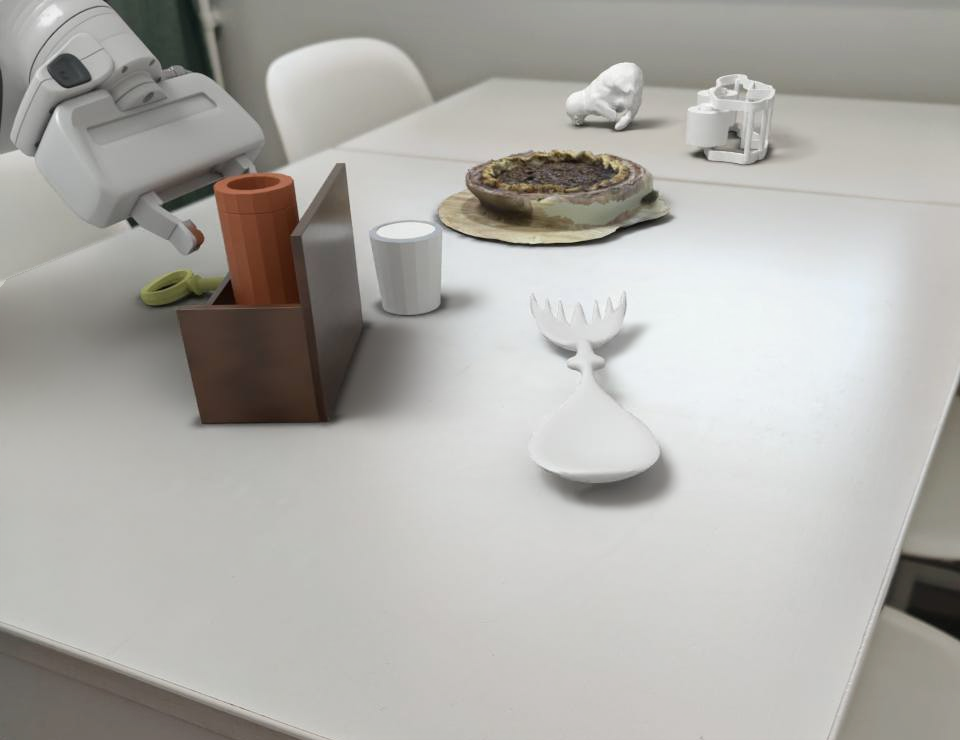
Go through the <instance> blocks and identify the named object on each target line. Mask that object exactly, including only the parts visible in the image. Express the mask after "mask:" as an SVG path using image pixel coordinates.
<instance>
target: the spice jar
mask: <svg viewBox="0 0 960 740" xmlns="http://www.w3.org/2000/svg"><path fill="white" fill-rule="evenodd" d="M212 187H213V193H214V198H215V203H216V207H217V213H218V219H219V225H220V229H221V235H222V240H223V246H224V251H225V257H226V262H227V268H228V272H230V277H231V283H232V288H233V293H234V299H235V304H236V305H252V304H300V299H299V292H298V285H297V278H296V272H295V265H294V258H293V252H292V245H291V238H290V235H291V234H292V232H293V231H294V229H295V228H296V226H297V224H298V223H299V221H300V214H299V207H298V201H297V195H296V194H297V193H296V186H295V180H294V178H292V176H290V175H287V174H284V173H279V172H257V173H250V174H242V175H237V176H233V177H229V178H223V179H221V180H218V181H216V182H215V183H214V185H213V186H212Z"/></svg>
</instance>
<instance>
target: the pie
mask: <svg viewBox="0 0 960 740" xmlns="http://www.w3.org/2000/svg"><path fill="white" fill-rule="evenodd" d="M464 177H465V178H464V179H465V180H464V184H465V187H466V189H464V190H462V191H459V192H457V193H454V194H452V195H450V196H449V197H447V198H446V199H445V200H444V201H443V202H441V204H440V206H438V218H439V219H440V221H441V222H442V223H443V224H444V225H445V226H446V227H448V228H449V227H450V228H451V229H453V230H455V231H458V232H461V233H463V234H466V235H469V236H473V237H477V238H483V239H489V240H490V239H493V240H499V241H502V242H507V243H513V244H529V245H535V244H555V243H556V244H558V243H559V244H561V243H562V244H563V243H565V244H566V243H567V244H568V243H576V242H577V243H578V242H583V241H589V240H595V239H596V240H597V239H601V238H603V237H606V236H608V235H611V234H612V233H614V232H616V230H617V229H619V228H627V227H630V226H633V225H636V224H638V223H640V222H641V223H642V222H646V221H653V220H655V219H658V218H661V217H664V216H665V215H667V214H668V213H669V212H670V211H671V207H670V206H669V205H668V204H665V201H664V200H661V199H660V196H661V195H660V192H659V190H655V189H654V175H653V174H652V172H651V171H649V170H648V169H647V168H646V167H644V166H643V165H641V164H639V163H637V162H634V161H633V160H631V159H628V158H626V157H623V156H619V155H616V154H612V153H599V154H596V155H595V154H594V153H593V152H592V151H591V150H581V151H579V152H577V153H576V152H575V151H572V150H571V149H567V150H562V151H560V150H558V149H551V150H550V151H549V152H547V151H546V150H544V151H539V150H538V151H534V150H533V149H529V150H528V151H523V152H517V153H512V154H510V155H507V156H504V157H502V158H499V159H496V160H495V159H493V158H491V159H488V160H487V161H486V162H481V163H478V164H476V165H474V166H471V168H467V172H466V173H465V176H464Z"/></svg>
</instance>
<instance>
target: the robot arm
mask: <svg viewBox="0 0 960 740" xmlns="http://www.w3.org/2000/svg"><path fill="white" fill-rule="evenodd" d="M265 144H266V138H265V135H264V132H263V129H262V128H261V125H259V124H258V122H257V121H256V120H255V119H254V118H253V117H252V116H251V115H250V114H249V112H248V111H246V110H245V108H243V106H241V105H240V104H239V102H237V101H236V100H235V99H234V97H233V96H231V94H229V93H228V92H227V91H226V90H225V89H224V88H223V87H222V86H221V85H220V84H218V83H217V82H216V81H215V80H213V79H212V78H210V77H209V76H207V75H205V74H203V73H200V72H193V71H191V70H188V69H185V67H183V66H182V65H172V66H169V67H168V68H165V69H162V64H161V62H160V61H159V59H158V58H157V57H156V56H155V55H154V54H153V52H151V50H150V49H149V48H148V47H147V46H146V44H144V42H143V41H142V40H141V39H140V37H139V36H137V34H136V33H135V32H134V31H133V30H132V29H131V27H130V26H129V25H128V24H127V23H126V22H125V21H124V19H122V17H121V16H120V15H119V14H118V12H116V11H115V9H114V8H113V7H111V6H110V5H109V3H107V2H106V1H104V0H0V155H4V154H8V153H12V152H16V151H20V152H21V154H24V155H25V156H27V157H30V158H34V163H35V166H36V167H35V168H36V169H37V170H38V172H39V174H40V175H41V177H42V178H43V180H45V182H46V183H47V184H48V185H49V187H50V188H51V189H52V190H53V191H54V192H55V193H56V195H57V196H58V197H59V198H60V199H61V200H62V202H64V204H65V205H66V206H67V207H68V208H69V209H70V210H71V212H73V213H74V214H75V215H76V217H78V218H79V219H80V220H82V221H83V222H85V223H87V224H89V225H91V226H94V227H96V228H98V229H106V228H109V227H111V226H113V225H117V224H118V223H121V222H123V221H126V220H128V219H130V218H132V219H133V220H134V221H135V222H136V223H137V224H138V225H139V227H141V228H142V229H143V230H145V231H148V232H150V233H152V234H153V235H156V236H158V237H160V238H161V239H164V240H165V241H169V243H170V244H171V245H172V246H173V247H174V248H175V249H176V250H177V251H178V252H179V253H180V254H181V256H183V257H186V256H189V255H191V254H193V253H194V252H197V251H199V249H200V248H201V246H202V245H203V243H204V242H205V235H204V233H203V232H202V231H201V230H200V229H199V228H198V227H197V226H196V224H195V223H194V222H193V221H192V220H191V219H190V218H188V219H187V220H184V221H183V220H182V219H180V218H178V217H177V215H176V216H175V215H174V214H173V213H172V212H169V210H167V209H165V208H163V205H164V204H165V203H168V202H171V201H173V200H176V199H177V198H180V197H183V196H185V195H187V194H190V193H193V192H194V191H198V190H199V189H202V188H204V187H206V186H209V185H211V184H213V183H214V184H215V183H217V182H218V181H220V180H223V179H225V178H229V177H233V176H237V175H242V174H250V173H258V172H257V169H256V165H255V164H254V162H255V160H256V159H257V157H258V156H259V154H260V153H261V151H262V149H263V148H264V146H265Z"/></svg>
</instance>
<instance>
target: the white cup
mask: <svg viewBox="0 0 960 740" xmlns="http://www.w3.org/2000/svg"><path fill="white" fill-rule="evenodd" d="M368 234H369V240H370V246H371V251H372V258H373V262H374V267H375V272H376V279H377V283H378V288H379V289H378V290H379V293H380V297H381V298H380V300H381V305H382V309H383V310H384V311H386V312H387V313H390V314H392V315H393V314H394V315H397V316H416V315H417V316H419V315H423V314H427V313H430V312H432V311H435V310H436V309H438V308H439V307H440V306H441V297H442V295H441V293H442V263H443V262H442V258H443V226H441V225H440V224H438V223H436V222H432V221H427V220H422V219H421V220H420V219H419V220H417V219H409V220H408V219H406V220H404V219H403V220H394V221H390V222H389V221H388V222H384V223H381V224H379V225H376V226H373V228H371V229H370V230H369V231H368Z"/></svg>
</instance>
